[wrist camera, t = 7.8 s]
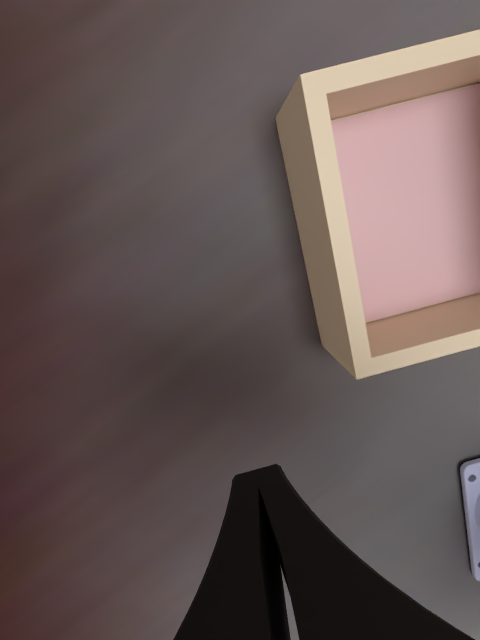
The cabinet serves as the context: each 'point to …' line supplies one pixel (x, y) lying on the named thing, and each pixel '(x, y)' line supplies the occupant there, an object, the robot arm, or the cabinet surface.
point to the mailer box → (390, 201)
